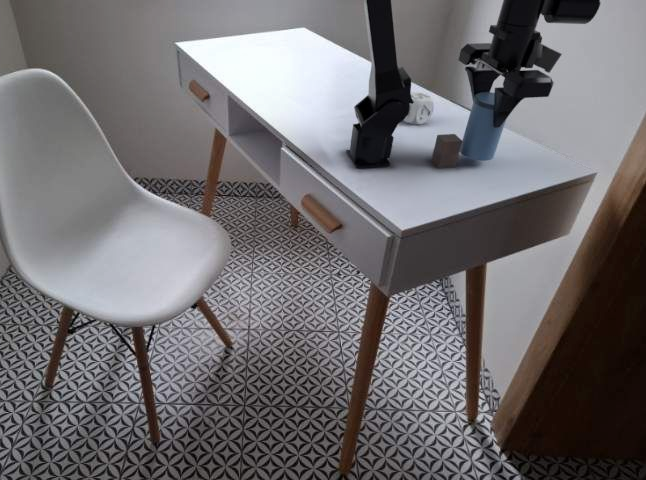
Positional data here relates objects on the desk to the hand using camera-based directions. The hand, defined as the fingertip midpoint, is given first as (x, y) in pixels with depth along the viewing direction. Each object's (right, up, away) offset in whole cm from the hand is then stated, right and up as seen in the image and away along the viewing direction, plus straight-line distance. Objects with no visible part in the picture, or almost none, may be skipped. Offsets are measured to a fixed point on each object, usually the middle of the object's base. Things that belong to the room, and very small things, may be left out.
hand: (487, 119), depth 89 cm
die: (-8, +6, +19) cm, 21 cm away
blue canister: (-4, -4, +3) cm, 7 cm away
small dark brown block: (-6, -7, +4) cm, 10 cm away
